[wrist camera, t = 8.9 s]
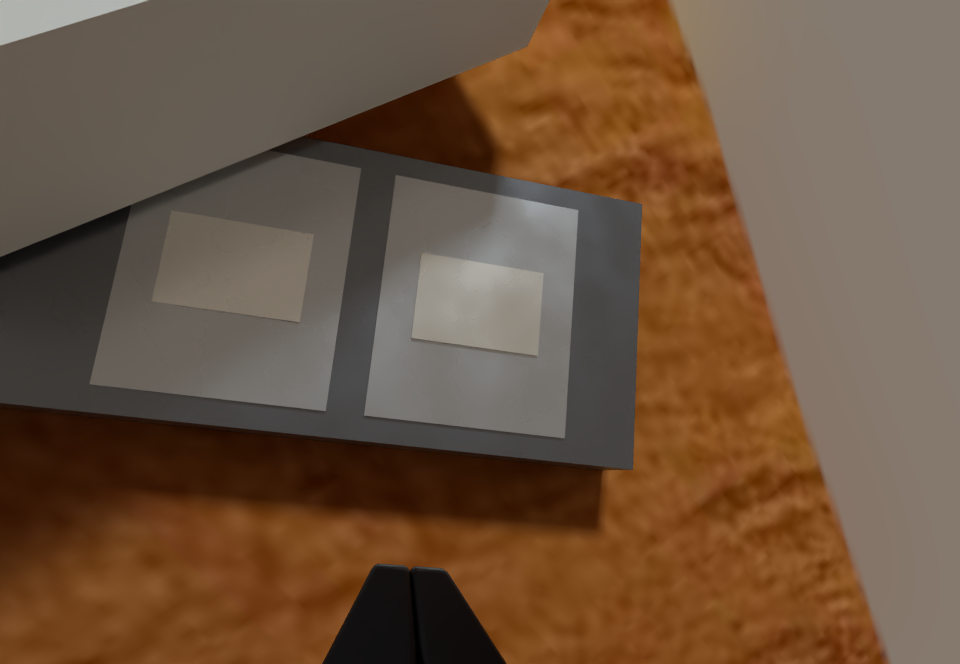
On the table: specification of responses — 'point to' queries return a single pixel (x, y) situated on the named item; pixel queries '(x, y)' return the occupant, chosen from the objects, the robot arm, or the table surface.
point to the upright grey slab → (204, 87)
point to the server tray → (342, 310)
